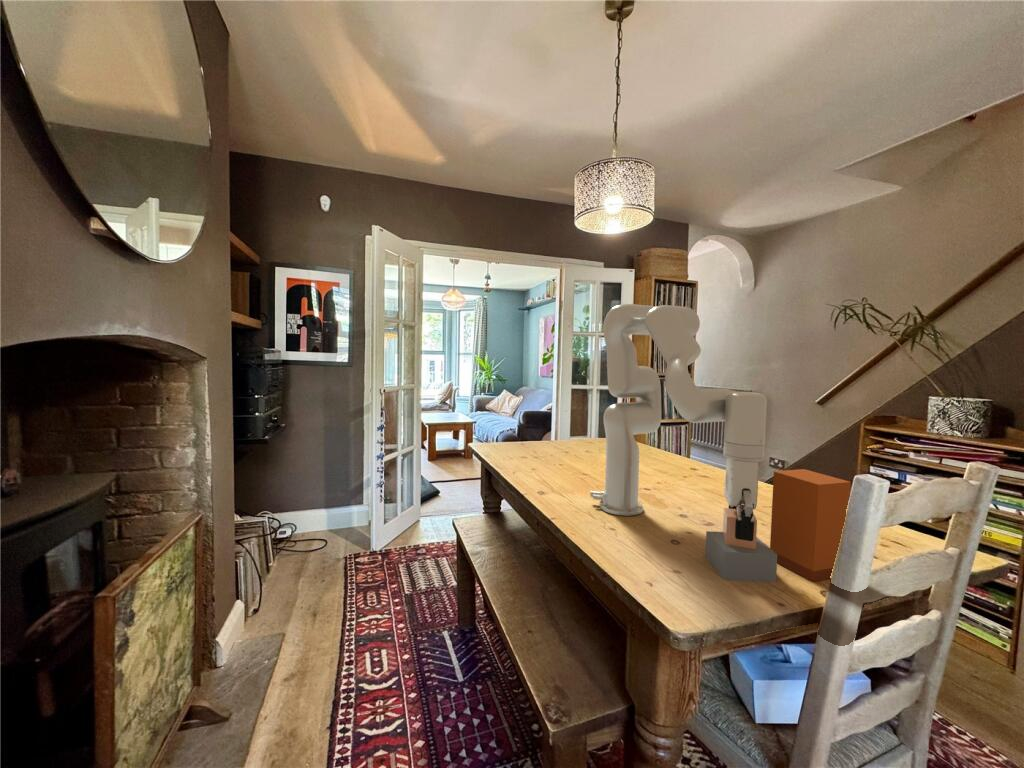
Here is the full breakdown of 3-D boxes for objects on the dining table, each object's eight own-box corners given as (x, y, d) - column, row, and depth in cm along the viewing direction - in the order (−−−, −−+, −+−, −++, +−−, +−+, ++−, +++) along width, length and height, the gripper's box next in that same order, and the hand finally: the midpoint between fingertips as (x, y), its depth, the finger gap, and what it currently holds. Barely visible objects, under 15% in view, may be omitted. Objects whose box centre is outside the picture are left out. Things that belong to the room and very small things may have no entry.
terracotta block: (725, 544, 86) (726, 516, 86) (722, 534, 91) (724, 507, 91) (755, 549, 84) (757, 520, 84) (751, 538, 89) (752, 511, 89)
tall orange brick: (847, 576, 85) (853, 481, 84) (813, 582, 82) (819, 484, 81) (801, 554, 95) (805, 468, 93) (769, 559, 92) (773, 471, 91)
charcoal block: (723, 580, 83) (725, 551, 83) (705, 557, 93) (706, 531, 93) (775, 583, 82) (777, 554, 82) (751, 559, 92) (752, 533, 92)
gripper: (718, 441, 96) (715, 513, 97) (729, 458, 79) (725, 544, 80) (755, 444, 93) (751, 518, 94) (774, 461, 77) (769, 550, 78)
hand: (739, 530), depth 87 cm, fingers open, 9 cm apart
